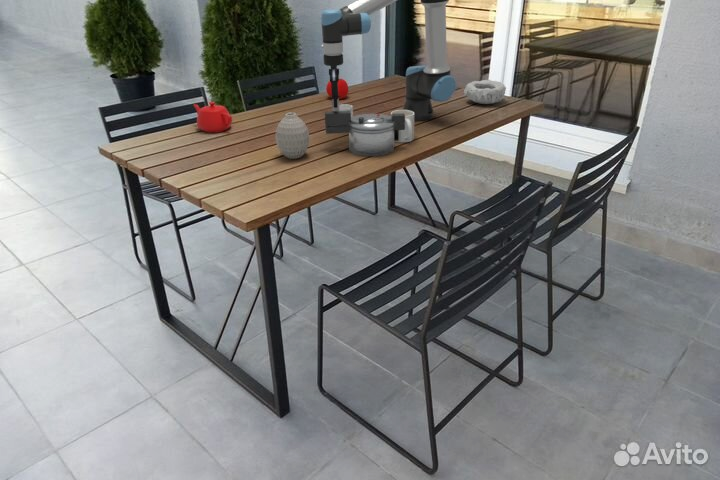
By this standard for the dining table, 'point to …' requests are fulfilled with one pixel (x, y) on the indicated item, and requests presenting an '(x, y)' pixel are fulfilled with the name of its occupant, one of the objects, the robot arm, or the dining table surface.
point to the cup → (346, 108)
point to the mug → (408, 133)
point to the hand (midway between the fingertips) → (336, 114)
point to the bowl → (485, 91)
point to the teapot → (213, 118)
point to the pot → (368, 139)
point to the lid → (363, 120)
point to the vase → (292, 136)
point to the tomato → (339, 88)
